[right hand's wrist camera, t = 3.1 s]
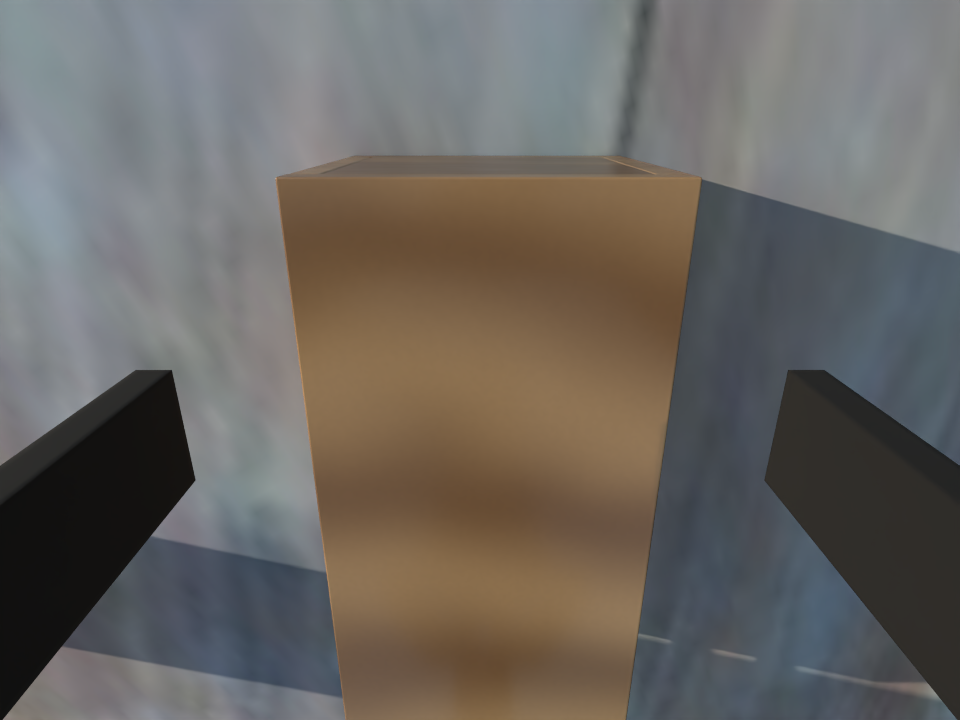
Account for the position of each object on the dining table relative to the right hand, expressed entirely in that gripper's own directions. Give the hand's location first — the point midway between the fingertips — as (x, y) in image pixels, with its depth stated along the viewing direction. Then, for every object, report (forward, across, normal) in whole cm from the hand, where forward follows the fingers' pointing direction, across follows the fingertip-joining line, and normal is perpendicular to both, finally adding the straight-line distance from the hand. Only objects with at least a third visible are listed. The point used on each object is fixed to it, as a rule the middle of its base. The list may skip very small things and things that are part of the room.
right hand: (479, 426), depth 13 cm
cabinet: (+13, 0, -5) cm, 14 cm away
